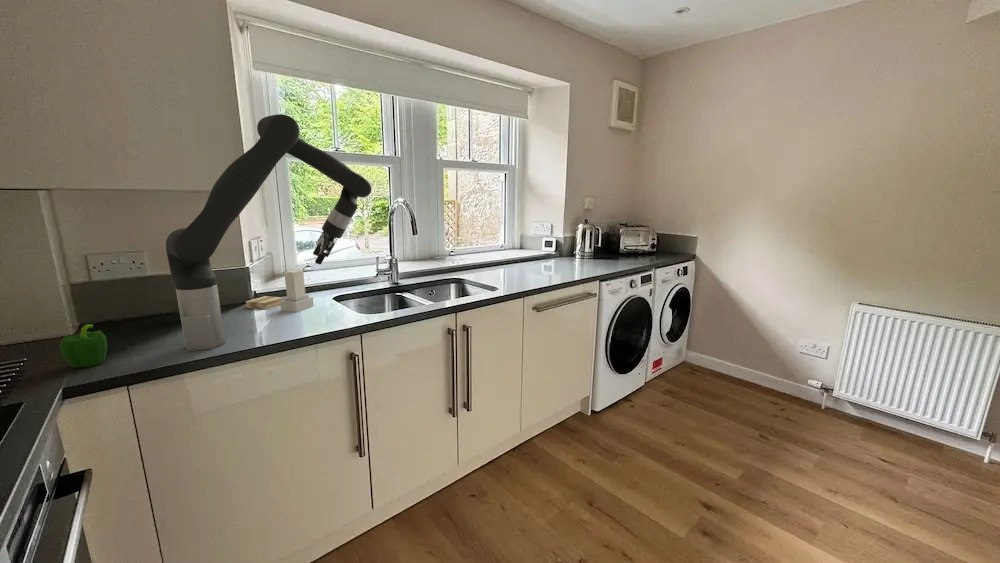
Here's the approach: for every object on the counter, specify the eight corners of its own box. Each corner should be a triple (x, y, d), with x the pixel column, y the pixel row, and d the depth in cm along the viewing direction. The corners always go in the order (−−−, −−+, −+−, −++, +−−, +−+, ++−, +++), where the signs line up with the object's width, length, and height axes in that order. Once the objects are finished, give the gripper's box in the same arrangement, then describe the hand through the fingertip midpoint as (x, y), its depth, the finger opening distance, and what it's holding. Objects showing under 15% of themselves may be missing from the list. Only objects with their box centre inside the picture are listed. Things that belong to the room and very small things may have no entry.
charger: (296, 301, 147) (293, 272, 145) (287, 300, 148) (284, 272, 146) (305, 298, 152) (303, 270, 150) (297, 297, 153) (294, 269, 151)
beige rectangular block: (296, 312, 146) (295, 300, 145) (281, 310, 148) (279, 299, 147) (313, 305, 154) (312, 294, 153) (298, 304, 156) (297, 293, 155)
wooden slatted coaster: (283, 303, 158) (283, 297, 157) (265, 309, 149) (264, 303, 149) (265, 301, 160) (264, 296, 159) (246, 307, 151) (245, 301, 151)
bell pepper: (79, 373, 94) (70, 333, 92) (57, 369, 97) (47, 330, 95) (121, 359, 102) (113, 323, 100) (99, 356, 105) (91, 320, 103)
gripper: (325, 212, 151) (305, 248, 153) (329, 224, 140) (308, 262, 142) (343, 221, 156) (323, 256, 158) (349, 233, 145) (328, 270, 147)
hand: (316, 259), depth 150 cm, fingers open, 8 cm apart
